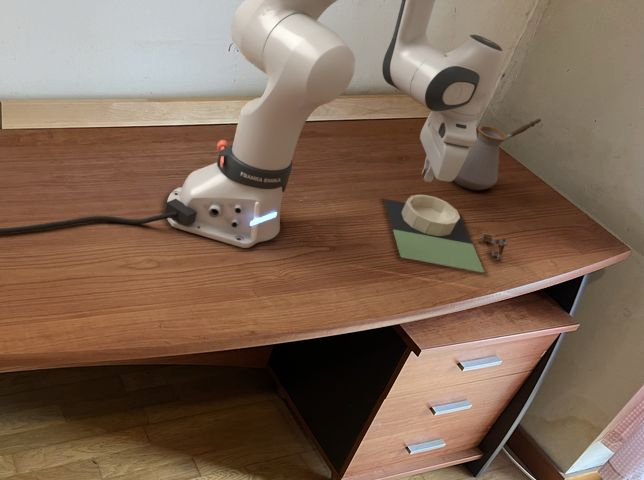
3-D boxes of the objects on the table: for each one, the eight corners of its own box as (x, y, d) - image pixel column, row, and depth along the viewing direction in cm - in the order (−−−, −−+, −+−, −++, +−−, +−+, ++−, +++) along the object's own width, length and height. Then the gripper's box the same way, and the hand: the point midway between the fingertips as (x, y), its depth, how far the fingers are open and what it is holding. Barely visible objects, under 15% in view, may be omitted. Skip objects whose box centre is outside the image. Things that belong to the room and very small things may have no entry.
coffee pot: (468, 198, 163) (498, 137, 153) (433, 173, 170) (461, 113, 160) (529, 188, 172) (561, 130, 162) (494, 164, 179) (523, 107, 169)
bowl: (406, 230, 147) (412, 218, 145) (398, 202, 155) (403, 190, 153) (458, 240, 147) (464, 227, 145) (447, 212, 156) (453, 200, 154)
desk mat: (399, 258, 139) (400, 257, 139) (383, 200, 155) (384, 199, 155) (483, 274, 140) (484, 272, 140) (459, 215, 156) (459, 213, 156)
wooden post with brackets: (496, 261, 142) (503, 239, 141) (477, 253, 150) (483, 232, 149) (505, 262, 143) (511, 240, 141) (485, 254, 150) (491, 233, 149)
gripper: (428, 95, 155) (404, 153, 164) (448, 138, 140) (420, 199, 149) (456, 101, 155) (430, 158, 164) (479, 143, 140) (449, 204, 149)
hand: (426, 178), depth 156 cm, fingers closed
